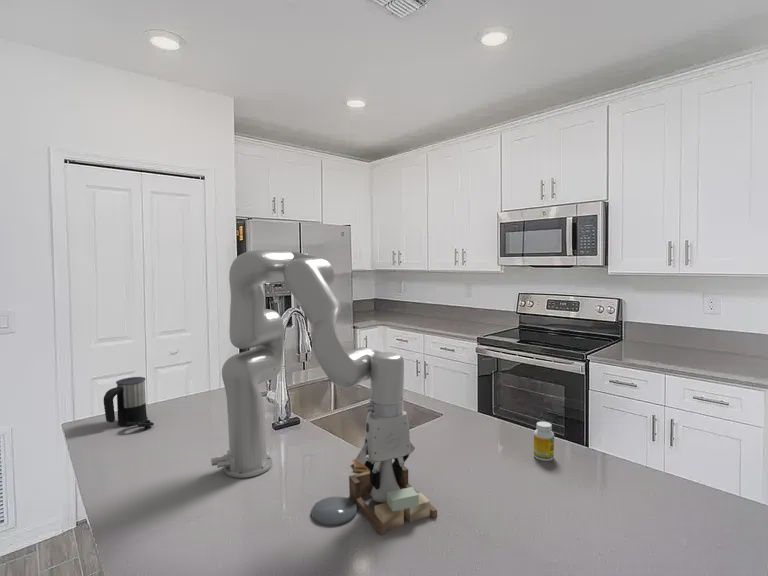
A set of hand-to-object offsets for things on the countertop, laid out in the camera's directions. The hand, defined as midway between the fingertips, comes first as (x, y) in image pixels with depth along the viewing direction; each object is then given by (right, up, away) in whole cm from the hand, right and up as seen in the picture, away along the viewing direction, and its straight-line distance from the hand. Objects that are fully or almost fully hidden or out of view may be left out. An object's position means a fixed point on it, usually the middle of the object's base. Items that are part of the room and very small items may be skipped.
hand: (385, 482), depth 104 cm
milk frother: (-85, -2, +50) cm, 99 cm away
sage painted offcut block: (+4, -2, -6) cm, 8 cm away
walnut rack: (+1, -5, -1) cm, 5 cm away
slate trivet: (-12, -5, -3) cm, 13 cm away
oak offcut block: (+1, -5, -7) cm, 9 cm away
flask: (0, -3, 0) cm, 3 cm away
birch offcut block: (+7, -5, -4) cm, 9 cm away
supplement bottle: (+44, -3, +22) cm, 50 cm away
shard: (-3, -4, +18) cm, 18 cm away
